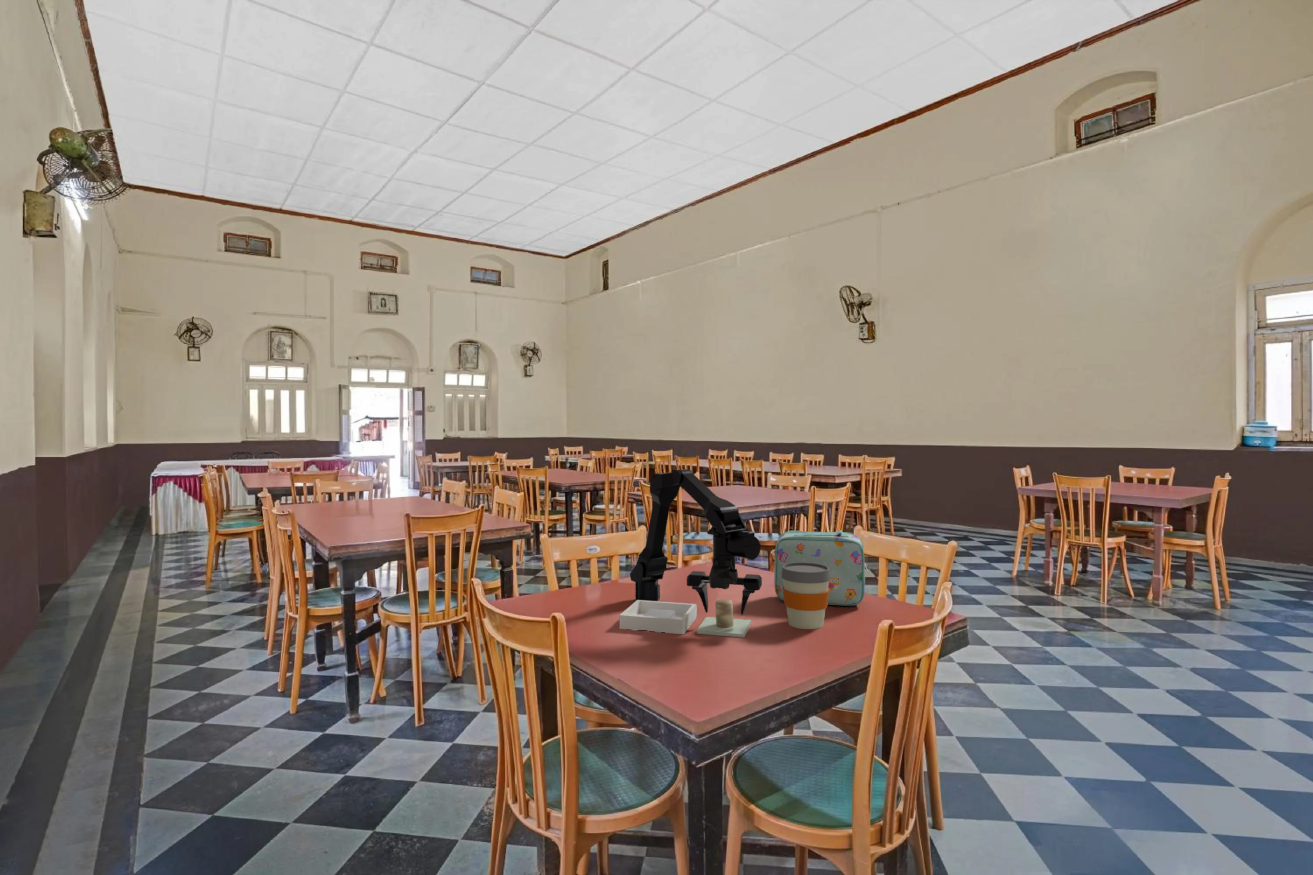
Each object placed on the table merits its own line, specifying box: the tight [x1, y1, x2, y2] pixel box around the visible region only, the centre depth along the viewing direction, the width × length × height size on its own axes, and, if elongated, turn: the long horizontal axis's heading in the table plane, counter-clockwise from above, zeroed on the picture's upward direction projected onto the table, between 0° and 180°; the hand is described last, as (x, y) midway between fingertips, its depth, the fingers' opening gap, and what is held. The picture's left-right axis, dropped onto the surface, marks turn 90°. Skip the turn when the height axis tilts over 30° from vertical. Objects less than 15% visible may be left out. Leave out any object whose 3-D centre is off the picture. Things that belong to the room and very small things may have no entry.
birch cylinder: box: [715, 598, 734, 628], centre depth 171 cm, size 4×4×6 cm
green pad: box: [696, 616, 752, 638], centre depth 171 cm, size 12×12×1 cm
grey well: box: [619, 600, 698, 635], centre depth 176 cm, size 17×15×4 cm
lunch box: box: [773, 529, 869, 607], centre depth 195 cm, size 27×10×21 cm, turn 74°
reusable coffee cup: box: [781, 562, 830, 630], centre depth 174 cm, size 13×13×15 cm
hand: (724, 613), depth 171 cm, fingers open, 9 cm apart
